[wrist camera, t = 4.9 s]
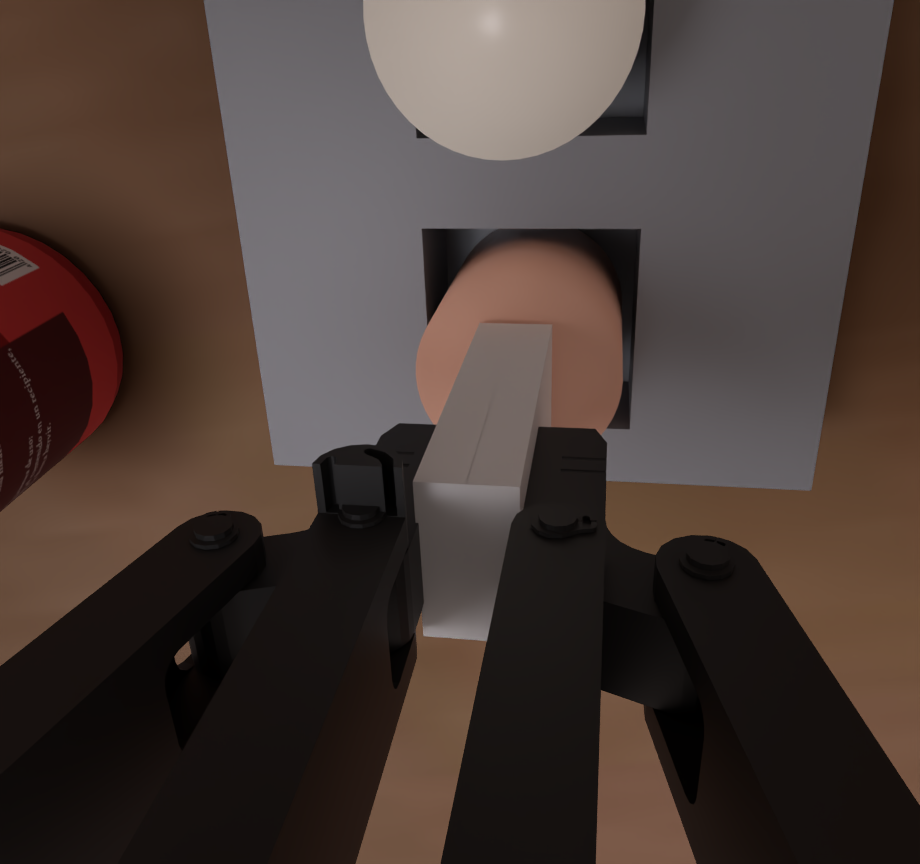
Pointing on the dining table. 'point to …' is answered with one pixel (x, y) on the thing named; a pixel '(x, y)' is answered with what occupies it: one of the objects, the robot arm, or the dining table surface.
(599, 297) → the button terracotta
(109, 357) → the canned food
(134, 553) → the dining table surface
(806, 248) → the console
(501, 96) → the button cream
